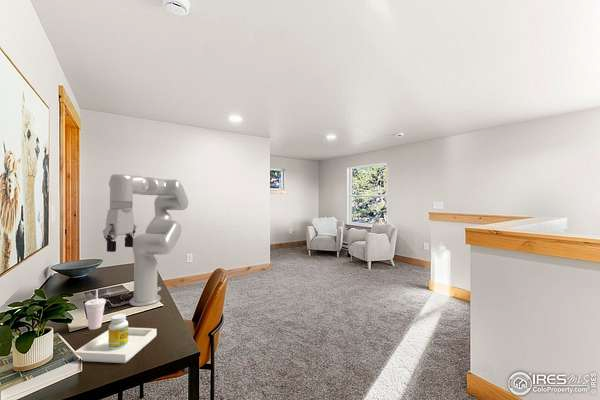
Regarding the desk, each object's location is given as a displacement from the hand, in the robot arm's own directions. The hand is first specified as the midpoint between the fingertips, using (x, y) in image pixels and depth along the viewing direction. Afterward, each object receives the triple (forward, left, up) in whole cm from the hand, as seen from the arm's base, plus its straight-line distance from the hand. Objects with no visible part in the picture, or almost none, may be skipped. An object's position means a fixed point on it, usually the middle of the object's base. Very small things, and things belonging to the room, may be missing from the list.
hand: (120, 249), depth 107 cm
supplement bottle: (+18, +13, -28) cm, 36 cm away
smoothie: (+6, -5, -28) cm, 30 cm away
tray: (+18, +13, -28) cm, 36 cm away
